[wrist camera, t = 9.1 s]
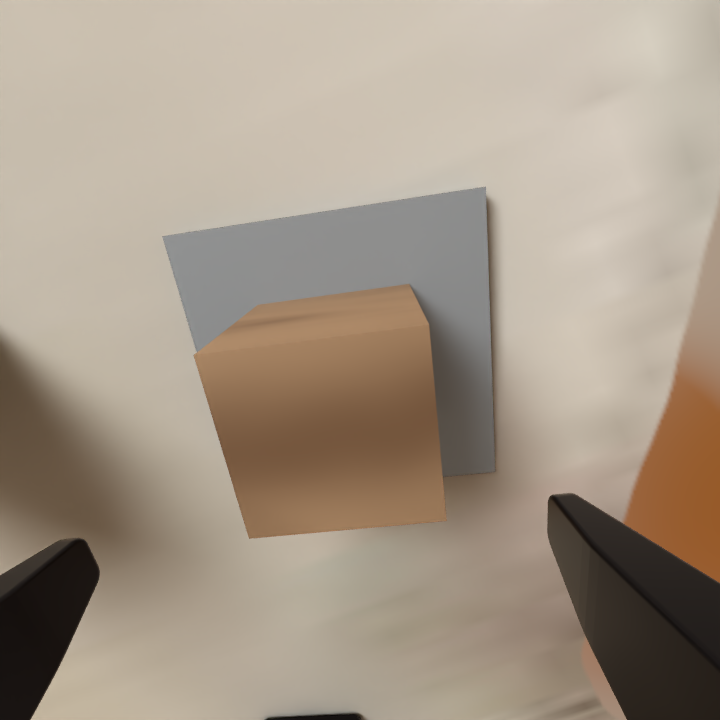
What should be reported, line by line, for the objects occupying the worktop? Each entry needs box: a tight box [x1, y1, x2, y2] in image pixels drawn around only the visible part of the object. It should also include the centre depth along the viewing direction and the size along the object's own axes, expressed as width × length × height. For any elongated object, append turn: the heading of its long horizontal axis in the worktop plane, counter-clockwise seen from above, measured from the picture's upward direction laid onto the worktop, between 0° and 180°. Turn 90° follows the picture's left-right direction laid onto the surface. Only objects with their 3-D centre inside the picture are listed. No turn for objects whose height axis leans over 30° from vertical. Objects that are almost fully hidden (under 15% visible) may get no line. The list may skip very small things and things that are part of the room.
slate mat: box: [162, 187, 495, 477], centre depth 17 cm, size 12×12×1 cm
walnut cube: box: [194, 284, 447, 539], centre depth 14 cm, size 6×6×6 cm
